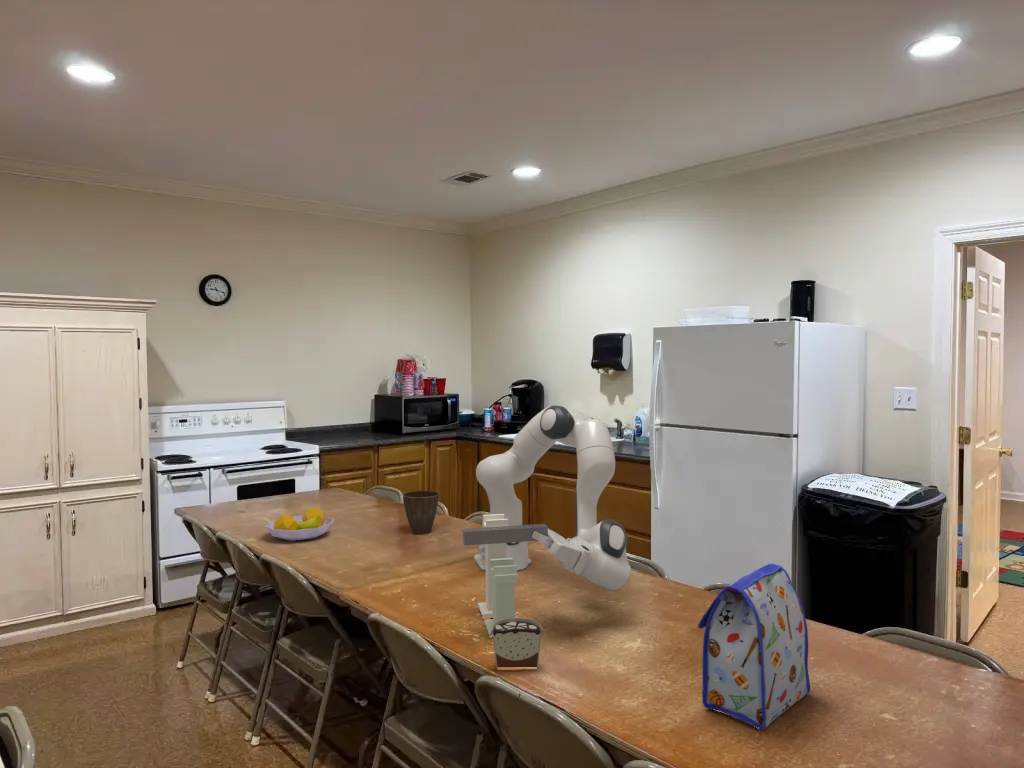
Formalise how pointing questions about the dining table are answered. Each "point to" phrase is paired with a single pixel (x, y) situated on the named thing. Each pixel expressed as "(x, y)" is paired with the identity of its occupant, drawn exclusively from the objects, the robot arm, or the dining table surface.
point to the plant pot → (421, 510)
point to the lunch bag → (755, 648)
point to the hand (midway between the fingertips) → (530, 531)
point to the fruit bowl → (300, 525)
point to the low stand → (502, 590)
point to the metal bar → (502, 534)
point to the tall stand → (492, 553)
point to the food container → (517, 642)
